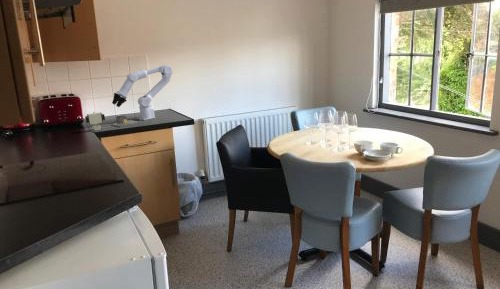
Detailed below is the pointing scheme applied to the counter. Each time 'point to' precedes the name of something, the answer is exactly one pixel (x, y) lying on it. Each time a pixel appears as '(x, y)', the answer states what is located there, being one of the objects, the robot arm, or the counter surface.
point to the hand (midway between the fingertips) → (115, 105)
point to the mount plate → (125, 123)
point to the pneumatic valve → (95, 120)
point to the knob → (120, 118)
